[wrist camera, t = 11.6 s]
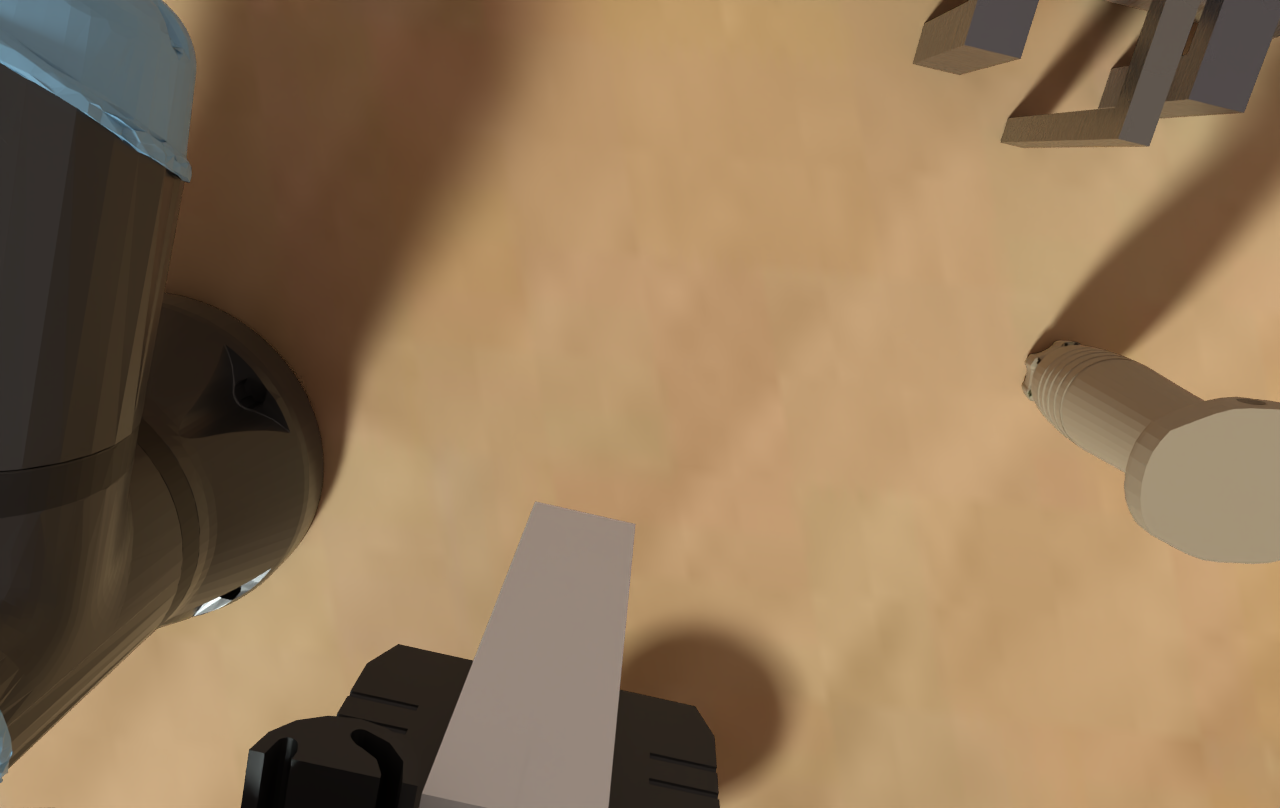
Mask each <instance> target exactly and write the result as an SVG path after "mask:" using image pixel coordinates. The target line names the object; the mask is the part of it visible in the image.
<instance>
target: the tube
mask: <svg viewBox="0 0 1280 808" xmlns="http://www.w3.org/2000/svg"><path fill="white" fill-rule="evenodd" d="M1104 1H1108V2H1112V3H1116V4H1120V5H1125V6H1129V7H1133V8H1137V9H1141V10H1145V11H1148V10H1149V7H1150V4H1151V1H1152V0H1104ZM1206 1H1207V0H1201V2H1200V4H1199V7H1198V10H1197V13H1196V16H1195V19H1194V21H1193V22H1195V23H1199V21H1200V18H1201V15H1202V12H1203V9H1204V7H1205V4H1206ZM1278 36H1280V18H1279V21H1278V24H1277V26H1276V29H1275V32H1274V34H1273V37H1272V39H1273V38H1276V37H1278Z"/></svg>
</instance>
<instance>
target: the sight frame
mask: <svg viewBox="0 0 1280 808" xmlns="http://www.w3.org/2000/svg"><path fill="white" fill-rule="evenodd" d="M1200 2H1201V0H1152V1H1151V4H1150V7H1149V10H1148V13H1147V16H1146V19H1145V22H1144V25H1143V27H1142V30H1141V33H1140V36H1139V39H1138V42H1137V45H1136V48H1135V51H1134V54H1133V57H1132V60H1131V63H1130V65H1129V68H1128V71H1127V74H1126V77H1125V80H1124V83H1123V86H1122V89H1121V92H1120V95H1119V98H1118V100H1117V103H1116V106H1115V108H1106V109H1096V110H1086V111H1076V112H1066V113H1056V114H1046V115H1036V116H1026V117H1016V118H1008V120H1007V123H1006V126H1005V130H1004V133H1003V136H1002V139H1001V143H1005V144H1009V145H1014V146H1018V147H1022V148H1051V147H1141V146H1149V145H1150V143H1151V140H1152V137H1153V134H1154V131H1155V128H1156V126H1157V123H1158V120H1159V117H1160V114H1161V112H1162V109H1163V106H1164V103H1165V100H1166V97H1167V95H1168V92H1169V89H1170V86H1171V83H1172V81H1173V78H1174V75H1175V72H1176V69H1177V66H1178V64H1179V61H1180V58H1181V55H1182V52H1183V50H1184V47H1185V44H1186V41H1187V38H1188V35H1189V33H1190V30H1191V27H1192V24H1193V21H1194V19H1195V16H1196V13H1197V10H1198V7H1199V4H1200Z"/></svg>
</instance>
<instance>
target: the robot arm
mask: <svg viewBox="0 0 1280 808" xmlns="http://www.w3.org/2000/svg"><path fill="white" fill-rule="evenodd" d="M195 78H196V56H195V51H194V47H193V44H192V41H191V38H190V36H189V34H188V31H187V29H186V28H185V26H184V24H183V23H182V21H181V20H180V19H179V17H178V16H177V15H176V14H175V13H174V12H173V10H172V9H171V8H170V7H169V6H168V5H167V4H166V3H165V2H163V1H162V0H0V783H1V782H2V781H3V779H2V777H3V776H4V775H5V774H6V773H8V769H9V768H10V767H11V766H12V765H13V764H14V763H15V762H16V761H17V760H18V759H19V758H20V757H21V756H22V755H23V754H25V753H26V752H27V751H28V750H29V749H30V748H31V747H32V746H33V745H34V744H35V743H36V742H37V741H38V740H39V739H40V738H42V737H43V736H44V735H45V734H46V733H47V732H48V731H49V730H50V729H51V728H52V727H53V726H54V725H55V724H56V723H57V722H59V721H60V720H61V719H62V718H63V717H64V716H65V715H66V714H67V713H68V712H69V711H70V710H71V709H72V708H73V707H74V706H75V705H77V704H78V703H79V702H80V701H81V700H82V699H83V698H84V697H85V696H86V695H87V694H88V693H89V692H90V691H91V690H92V689H94V688H95V687H96V686H97V685H98V684H99V683H100V682H101V681H102V680H103V679H104V678H105V677H106V676H107V675H108V674H109V673H111V672H112V671H113V670H114V669H115V668H116V667H117V666H118V665H119V664H120V663H121V662H122V661H123V660H124V659H125V658H126V657H128V656H129V655H130V654H131V653H132V652H133V651H134V650H135V649H136V648H137V647H138V646H139V645H140V644H141V643H142V642H143V641H144V640H146V639H147V638H148V637H149V636H150V635H151V634H152V633H153V632H154V631H155V630H156V629H158V628H161V627H164V626H167V625H170V624H173V623H177V622H180V621H183V620H186V619H189V618H191V617H193V616H197V615H202V614H205V613H208V612H210V611H213V610H217V609H219V608H222V607H224V606H226V605H229V604H231V603H233V602H235V601H237V600H238V599H240V598H242V597H243V596H245V595H247V594H248V593H250V592H251V591H253V590H254V589H255V588H257V587H258V586H259V585H261V584H262V583H263V582H264V581H265V580H266V579H268V578H269V577H270V576H271V575H272V574H273V572H274V571H275V570H276V569H277V568H278V567H279V566H280V565H281V564H282V563H283V562H284V561H285V560H286V559H287V558H288V557H289V556H290V555H291V553H292V552H293V551H294V550H295V549H296V547H297V546H298V545H299V543H300V542H301V540H302V539H303V537H304V536H305V534H306V532H307V531H308V529H309V527H310V525H311V522H312V520H313V518H314V515H315V513H316V510H317V507H318V503H319V500H320V495H321V490H322V482H323V450H322V442H321V437H320V432H319V428H318V424H317V421H316V418H315V415H314V412H313V409H312V407H311V405H310V402H309V400H308V398H307V396H306V394H305V392H304V390H303V388H302V386H301V384H300V383H299V381H298V380H297V378H296V377H295V375H294V373H293V372H292V371H291V369H290V368H289V367H288V365H287V364H286V363H285V361H284V360H283V359H282V358H281V357H280V356H279V354H278V353H277V352H276V351H275V350H274V349H273V348H272V347H271V346H270V345H269V344H268V343H267V342H266V341H265V340H264V339H262V338H261V337H260V336H259V335H258V334H257V333H255V332H254V331H253V330H252V329H250V328H249V327H247V326H246V325H245V324H243V323H242V322H240V321H239V320H237V319H235V318H234V317H232V316H230V315H229V314H227V313H225V312H223V311H221V310H219V309H217V308H215V307H212V306H210V305H208V304H205V303H203V302H200V301H197V300H194V299H191V298H187V297H183V296H179V295H174V294H169V293H164V291H165V285H166V280H167V274H168V269H169V263H170V258H171V253H172V247H173V242H174V236H175V231H176V225H177V220H178V214H179V209H180V203H181V198H182V192H183V187H184V181H185V182H189V183H190V181H191V176H192V170H191V165H190V163H189V161H188V160H187V146H188V137H189V129H190V120H191V112H192V103H193V95H194V86H195ZM634 534H635V524H633V523H629V522H624V521H620V520H615V519H611V518H606V517H602V516H597V515H593V514H589V513H584V512H580V511H575V510H571V509H566V508H562V507H558V506H553V505H549V504H544V503H540V502H535V503H534V506H533V508H532V511H531V514H530V516H529V519H528V521H527V524H526V527H525V529H524V532H523V534H522V537H521V539H520V542H519V545H518V547H517V550H516V552H515V555H514V557H513V560H512V563H511V565H510V568H509V570H508V573H507V575H506V578H505V581H504V583H503V586H502V588H501V591H500V594H499V596H498V599H497V601H496V604H495V606H494V609H493V612H492V614H491V617H490V619H489V622H488V624H487V627H486V630H485V632H484V635H483V637H482V640H481V643H480V645H479V648H478V650H477V653H476V655H475V658H474V661H472V660H468V659H463V658H459V657H454V656H450V655H445V654H441V653H436V652H431V651H427V650H422V649H418V648H413V647H409V646H404V645H400V644H398V645H396V646H395V647H393V648H391V649H390V650H388V651H386V652H385V653H383V654H382V655H380V656H378V657H377V658H375V659H373V660H372V661H370V662H369V663H367V664H366V666H365V668H364V669H363V671H362V673H361V674H360V676H359V678H358V680H357V681H356V683H355V685H354V686H353V688H352V690H351V692H350V696H347V698H346V700H345V701H344V703H343V705H342V706H341V708H340V710H339V711H338V713H337V717H335V716H324V717H317V718H310V719H302V720H296V721H294V722H291V723H289V724H287V725H284V726H282V727H279V728H277V729H275V730H272V731H270V732H268V733H267V734H266V735H265V736H264V737H263V738H262V739H260V740H259V741H258V742H257V743H256V744H255V745H254V746H253V747H252V748H251V749H249V754H248V761H247V768H246V776H245V783H244V790H243V797H242V804H241V808H720V805H719V799H718V793H719V792H718V778H717V773H716V768H717V765H716V751H715V738H714V735H713V733H712V732H711V730H710V729H709V727H708V726H707V724H706V723H705V721H704V719H703V718H702V716H701V715H700V713H699V712H698V710H697V708H696V707H695V706H691V705H687V704H682V703H678V702H673V701H669V700H664V699H659V698H655V697H650V696H646V695H641V694H637V693H632V692H628V691H623V690H620V680H621V670H622V659H623V649H624V638H625V628H626V618H627V607H628V597H629V586H630V576H631V565H632V555H633V544H634Z"/></svg>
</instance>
